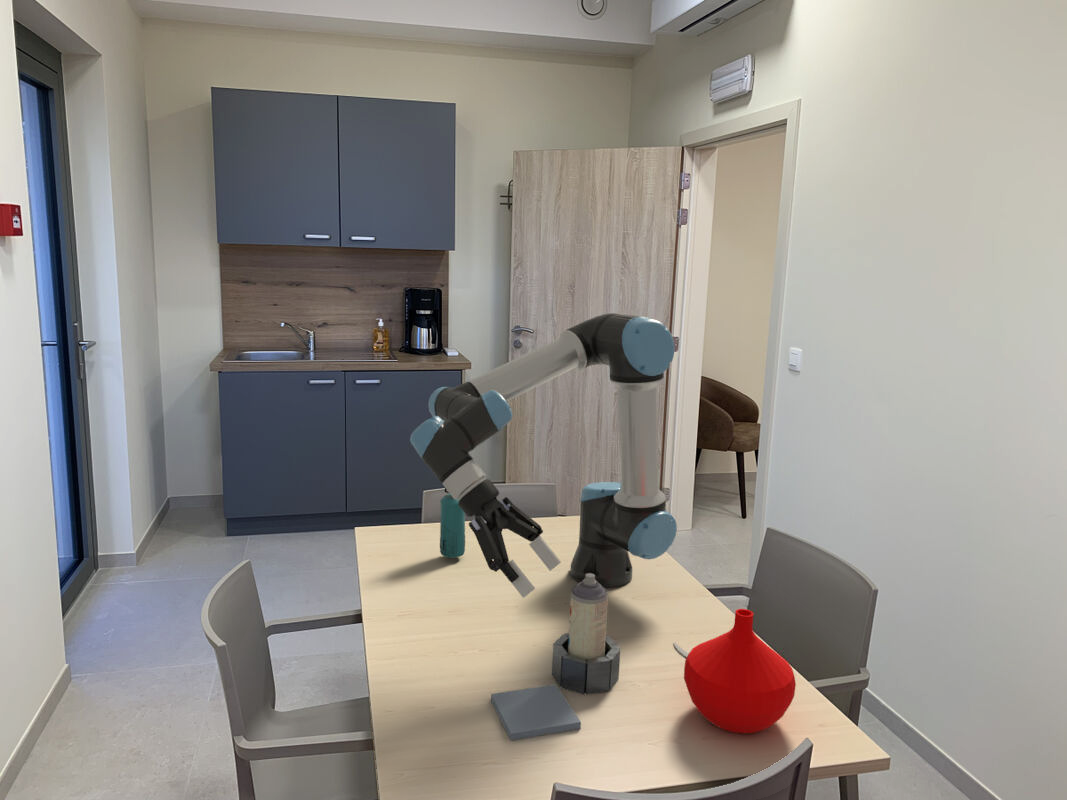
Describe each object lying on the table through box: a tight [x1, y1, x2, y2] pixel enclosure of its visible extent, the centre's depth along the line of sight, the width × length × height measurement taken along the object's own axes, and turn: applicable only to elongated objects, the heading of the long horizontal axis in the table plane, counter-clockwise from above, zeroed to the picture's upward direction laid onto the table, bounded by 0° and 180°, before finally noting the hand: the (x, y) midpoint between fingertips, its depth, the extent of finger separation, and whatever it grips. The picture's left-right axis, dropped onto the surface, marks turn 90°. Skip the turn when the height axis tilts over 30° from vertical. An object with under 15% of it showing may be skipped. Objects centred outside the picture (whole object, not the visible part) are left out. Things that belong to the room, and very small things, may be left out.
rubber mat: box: [490, 683, 582, 741], centre depth 134 cm, size 12×12×1 cm
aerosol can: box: [568, 573, 609, 659], centre depth 145 cm, size 7×7×20 cm
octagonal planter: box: [551, 632, 621, 695], centre depth 146 cm, size 12×12×6 cm
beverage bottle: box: [439, 487, 466, 558], centre depth 199 cm, size 6×7×20 cm
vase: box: [683, 608, 797, 735], centre depth 134 cm, size 18×18×19 cm
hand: (543, 579), depth 146 cm, fingers open, 13 cm apart
